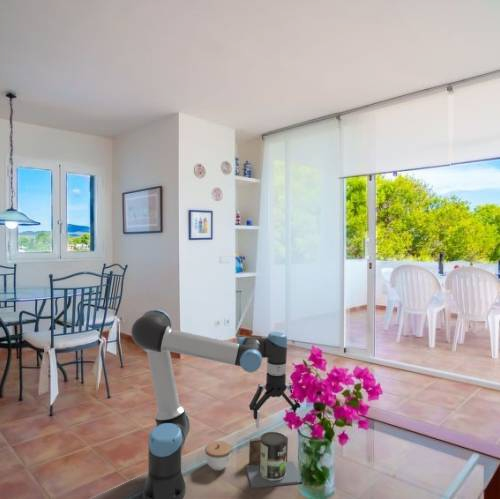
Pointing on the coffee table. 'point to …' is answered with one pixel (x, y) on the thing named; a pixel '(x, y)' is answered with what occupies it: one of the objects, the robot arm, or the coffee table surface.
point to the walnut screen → (258, 450)
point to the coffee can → (273, 456)
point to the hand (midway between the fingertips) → (274, 425)
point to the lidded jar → (218, 454)
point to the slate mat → (259, 481)
